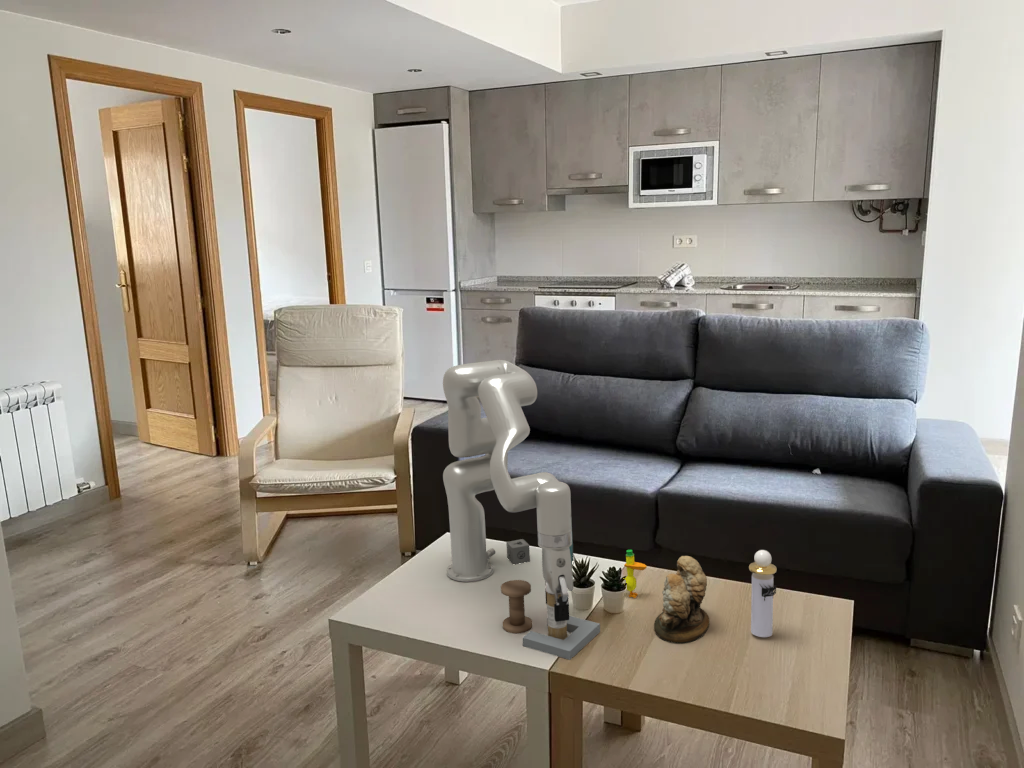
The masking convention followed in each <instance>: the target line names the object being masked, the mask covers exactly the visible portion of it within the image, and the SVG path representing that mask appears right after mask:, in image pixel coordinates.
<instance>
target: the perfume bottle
mask: <svg viewBox="0 0 1024 768" xmlns="http://www.w3.org/2000/svg"><path fill="white" fill-rule="evenodd" d="M772 560H773V559H772V555H771V553H770V552H769V551H768V550H766V549H759V550H758V551H756V552H755V553H754V561H753V562H751V563H750V564H749V566H748V570H749V571H750V572H751V602H750V603H751V605H750V606H751V607H750V632H751V634H752V635H753V636H756V637H759V638H768V637H771V636H772V635H773V629H774V628H773V626H774V625H773V624H774V622H773V621H774V618H773V617H774V615H773V614H774V613H773V612H774V596H775V595H777V585H774V574H775V573H777V566H776V565H774V564H772Z"/></svg>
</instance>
